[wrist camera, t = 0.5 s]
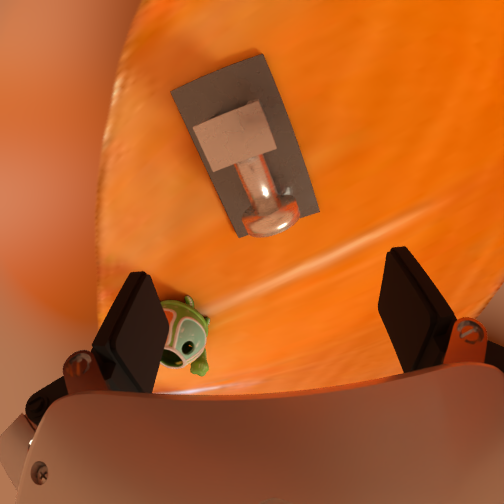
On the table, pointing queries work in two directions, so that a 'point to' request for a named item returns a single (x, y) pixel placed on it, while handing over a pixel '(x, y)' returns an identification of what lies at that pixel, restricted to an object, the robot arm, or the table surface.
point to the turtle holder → (185, 337)
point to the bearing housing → (244, 134)
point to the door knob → (264, 200)
